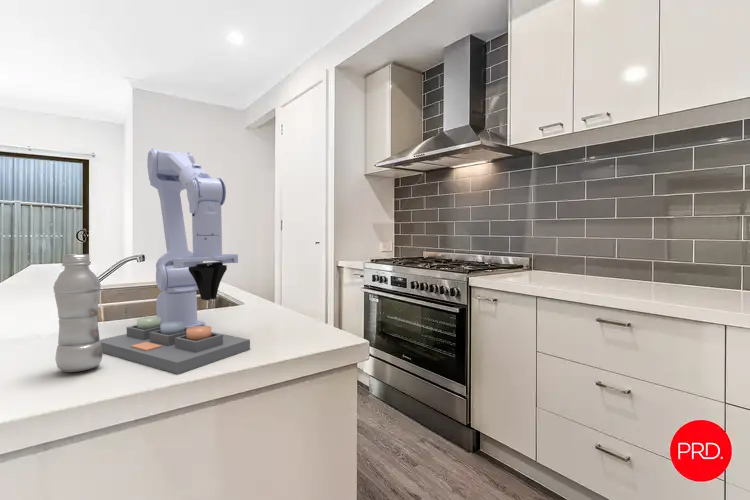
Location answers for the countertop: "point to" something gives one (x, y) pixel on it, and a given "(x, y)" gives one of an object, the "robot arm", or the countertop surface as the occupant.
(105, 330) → the countertop surface
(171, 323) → the button slate
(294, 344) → the countertop surface
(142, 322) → the button sage
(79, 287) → the plastic bottle
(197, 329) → the button terracotta
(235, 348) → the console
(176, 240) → the robot arm
